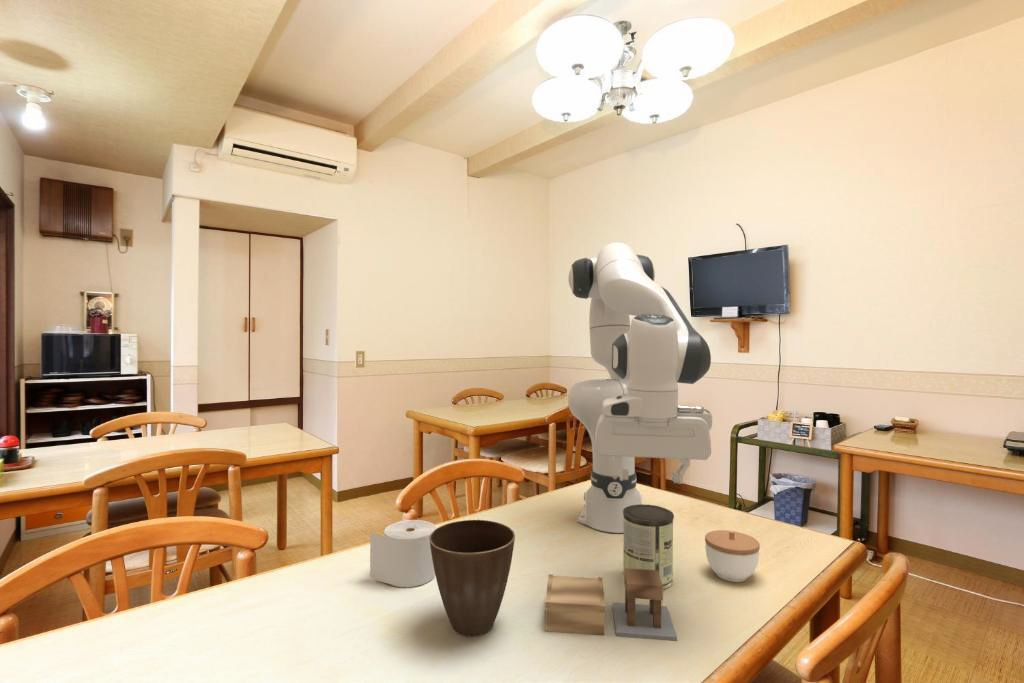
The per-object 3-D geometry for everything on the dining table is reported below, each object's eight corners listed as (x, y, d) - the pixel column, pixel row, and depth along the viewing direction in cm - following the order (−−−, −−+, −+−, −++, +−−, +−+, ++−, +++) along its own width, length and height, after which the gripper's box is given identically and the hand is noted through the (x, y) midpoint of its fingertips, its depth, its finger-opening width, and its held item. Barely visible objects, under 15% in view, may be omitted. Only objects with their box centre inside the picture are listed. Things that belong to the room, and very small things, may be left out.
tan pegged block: (626, 626, 91) (627, 583, 91) (623, 608, 97) (624, 568, 97) (662, 629, 90) (662, 585, 90) (657, 610, 96) (657, 570, 96)
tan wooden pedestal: (548, 600, 101) (548, 574, 101) (602, 604, 100) (602, 577, 100) (545, 631, 91) (545, 601, 90) (605, 635, 89) (605, 606, 89)
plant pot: (482, 662, 82) (482, 560, 82) (410, 632, 90) (411, 539, 90) (529, 618, 95) (530, 530, 94) (463, 595, 103) (464, 514, 102)
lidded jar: (765, 590, 106) (765, 544, 105) (708, 584, 108) (709, 539, 108) (752, 566, 116) (752, 524, 116) (701, 562, 118) (701, 520, 118)
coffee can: (628, 564, 117) (628, 501, 117) (676, 573, 113) (677, 508, 112) (617, 584, 108) (617, 516, 107) (669, 595, 103) (669, 524, 103)
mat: (612, 605, 99) (612, 602, 99) (666, 609, 98) (666, 606, 98) (616, 636, 89) (616, 632, 89) (677, 640, 88) (677, 637, 88)
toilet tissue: (445, 575, 111) (446, 528, 111) (398, 596, 102) (398, 545, 102) (415, 560, 118) (415, 516, 118) (368, 578, 110) (368, 530, 109)
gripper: (708, 404, 96) (706, 478, 96) (594, 400, 99) (593, 473, 99) (717, 409, 90) (715, 489, 90) (595, 405, 92) (594, 483, 93)
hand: (650, 481), depth 95 cm, fingers open, 8 cm apart
